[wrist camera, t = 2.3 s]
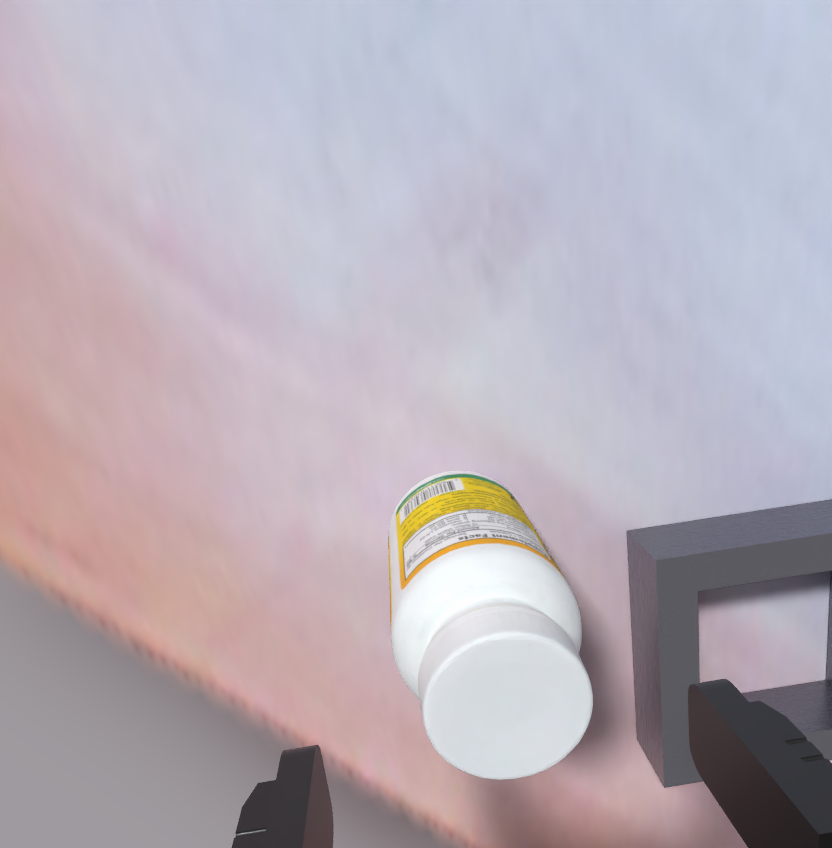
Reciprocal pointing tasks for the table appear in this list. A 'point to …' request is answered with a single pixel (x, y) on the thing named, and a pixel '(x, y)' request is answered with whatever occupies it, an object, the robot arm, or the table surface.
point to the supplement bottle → (485, 629)
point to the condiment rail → (678, 618)
